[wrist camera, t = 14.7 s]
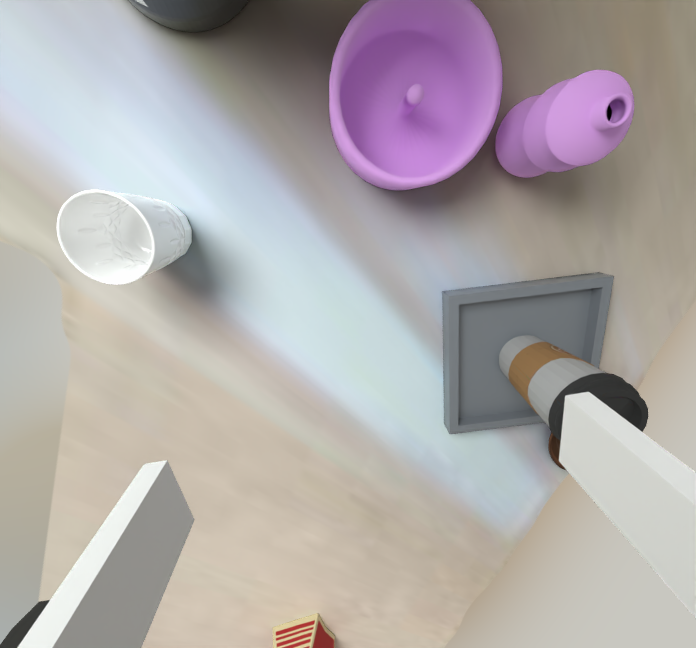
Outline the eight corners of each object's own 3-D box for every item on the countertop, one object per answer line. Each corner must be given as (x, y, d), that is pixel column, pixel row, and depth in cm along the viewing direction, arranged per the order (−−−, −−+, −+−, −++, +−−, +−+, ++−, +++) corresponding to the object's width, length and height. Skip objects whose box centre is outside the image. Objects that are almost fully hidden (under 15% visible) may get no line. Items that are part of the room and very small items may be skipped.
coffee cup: (563, 346, 44) (673, 411, 30) (521, 392, 46) (605, 474, 32) (518, 314, 42) (612, 369, 28) (476, 365, 45) (544, 438, 30)
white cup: (205, 210, 37) (163, 212, 28) (189, 275, 39) (145, 297, 30) (132, 182, 36) (61, 173, 26) (120, 251, 38) (51, 266, 29)
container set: (318, 174, 37) (312, 157, 24) (344, 3, 32) (354, -127, 19) (525, 220, 39) (615, 227, 27) (579, 70, 35) (719, -6, 22)
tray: (442, 291, 42) (448, 296, 39) (598, 272, 42) (613, 276, 40) (444, 423, 48) (449, 434, 46) (578, 406, 49) (590, 416, 46)
